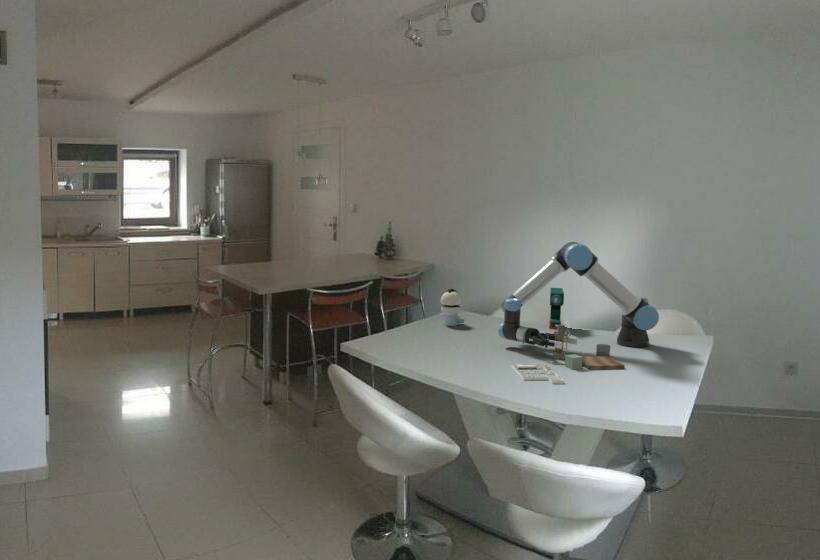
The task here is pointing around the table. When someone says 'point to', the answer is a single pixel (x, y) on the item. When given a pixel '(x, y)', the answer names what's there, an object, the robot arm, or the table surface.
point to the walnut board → (601, 362)
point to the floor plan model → (552, 379)
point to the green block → (573, 361)
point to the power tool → (556, 306)
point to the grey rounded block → (603, 350)
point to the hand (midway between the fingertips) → (569, 343)
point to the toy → (451, 308)
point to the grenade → (560, 340)
